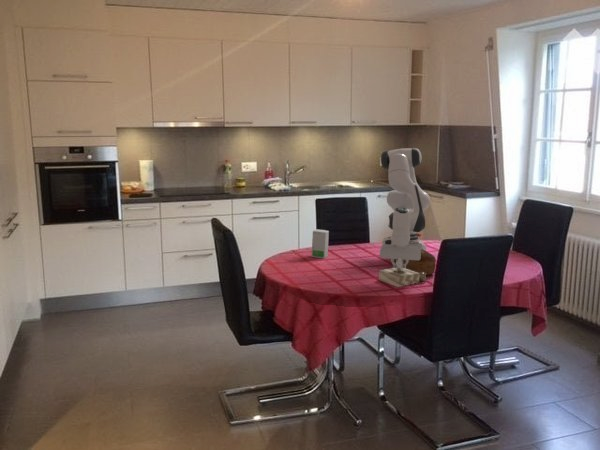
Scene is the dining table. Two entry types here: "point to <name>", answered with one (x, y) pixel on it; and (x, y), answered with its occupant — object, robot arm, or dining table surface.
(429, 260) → the bread
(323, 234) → the skincare box
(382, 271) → the birch block
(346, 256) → the dining table surface
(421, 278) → the short bronze pin
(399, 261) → the tall steel pin
